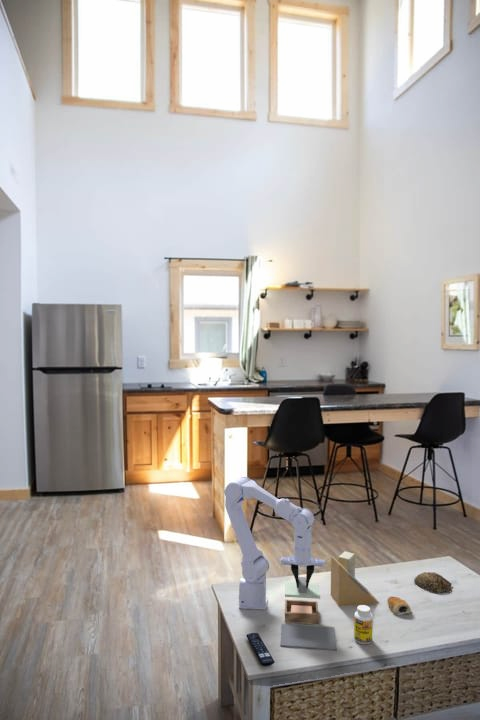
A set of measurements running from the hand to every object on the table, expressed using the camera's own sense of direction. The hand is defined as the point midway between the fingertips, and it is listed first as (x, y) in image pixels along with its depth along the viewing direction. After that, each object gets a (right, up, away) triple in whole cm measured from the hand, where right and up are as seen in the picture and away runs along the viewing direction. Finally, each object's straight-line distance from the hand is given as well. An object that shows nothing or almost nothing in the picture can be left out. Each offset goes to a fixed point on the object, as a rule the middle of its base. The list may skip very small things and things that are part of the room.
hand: (302, 586), depth 178 cm
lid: (0, -2, 0) cm, 2 cm away
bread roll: (+53, -10, +24) cm, 59 cm away
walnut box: (0, -10, +1) cm, 10 cm away
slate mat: (+1, -11, -11) cm, 16 cm away
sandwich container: (+20, -10, +13) cm, 26 cm away
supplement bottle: (+17, -11, -13) cm, 24 cm away
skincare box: (+19, -10, +22) cm, 31 cm away
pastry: (+34, -11, +6) cm, 36 cm away
